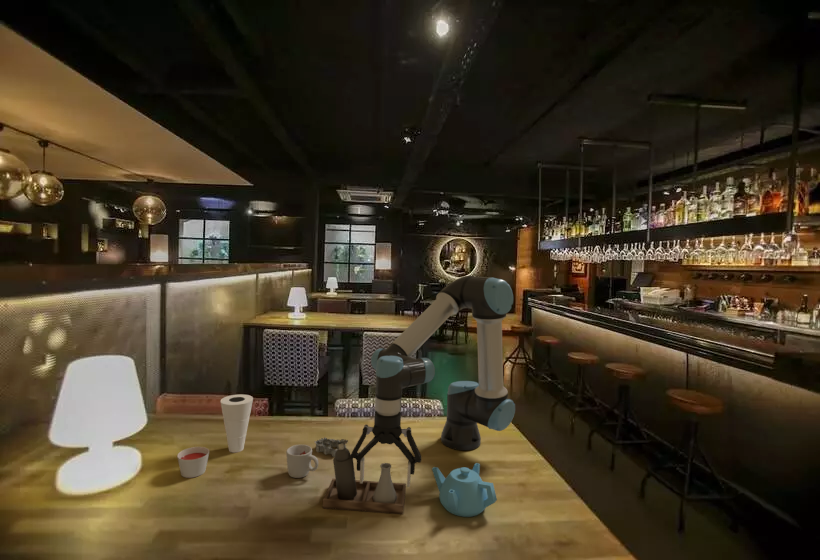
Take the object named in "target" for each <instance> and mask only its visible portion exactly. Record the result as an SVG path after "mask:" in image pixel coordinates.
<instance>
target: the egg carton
mask: <svg viewBox="0 0 820 560" xmlns="http://www.w3.org/2000/svg"><path fill="white" fill-rule="evenodd" d="M314 443H315V451H316V453H323V454H324V455H331V457H333V458H335V453H336V451H337V450H338V449H339V444H344V448H347V444H348V443H349V440H348V439H342V438H341V439H335V438H327V437H325V436H324V437H322V438H321V439H320V438H319V439H317V440H316V441H314ZM334 448H336V449H334Z"/></svg>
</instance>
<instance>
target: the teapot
mask: <svg viewBox="0 0 820 560" xmlns="http://www.w3.org/2000/svg"><path fill="white" fill-rule="evenodd" d="M480 469H481V464H480V463H479V462H476V463H474V465H473V467H472V468H471V469H470V468H469V467H464V466H463V467H458V468H454V469H453V470H451V471H450V473H449V474H448V475H446V477H445V476H444V474H443V473H442V472H441V470H440V469H439V467H435V466H433V467H432V468H431V471H432V473H433V476H434V477H433V478H434V479H435V482H436V486H437V489H438V492H439V496H438V497H439V501H440V503H441V505H442V506H443V508H444V509H445V510H446V511H447V512H449V513H450V514H452V515H454V516H457V517H461V518H462V517H464V518H470V517H476V516H478V515H480V514H481V513H483V512H484V510H485V509H486V508H487V507H489V506H490V507H491V506H492V505H493V504H495V503H496V502H497V501H498V498H497V493H496V489H495V487H494V482H489V481H483V479H482V478H481V476H480V471H481V470H480Z"/></svg>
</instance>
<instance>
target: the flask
mask: <svg viewBox="0 0 820 560" xmlns="http://www.w3.org/2000/svg"><path fill="white" fill-rule="evenodd" d="M379 467H380V476H379V479H378V481H377V482H378V485H377V487H376V490H375V492H374V494H373V497H372V499H373V500H374V502H379V503H395V501H396V499H397V496H396V492H395V490H394V486H393V483H394V482H393V480H392V475H391V468H392V464H391V463H388V462H384V463H381V464H380V466H379Z"/></svg>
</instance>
